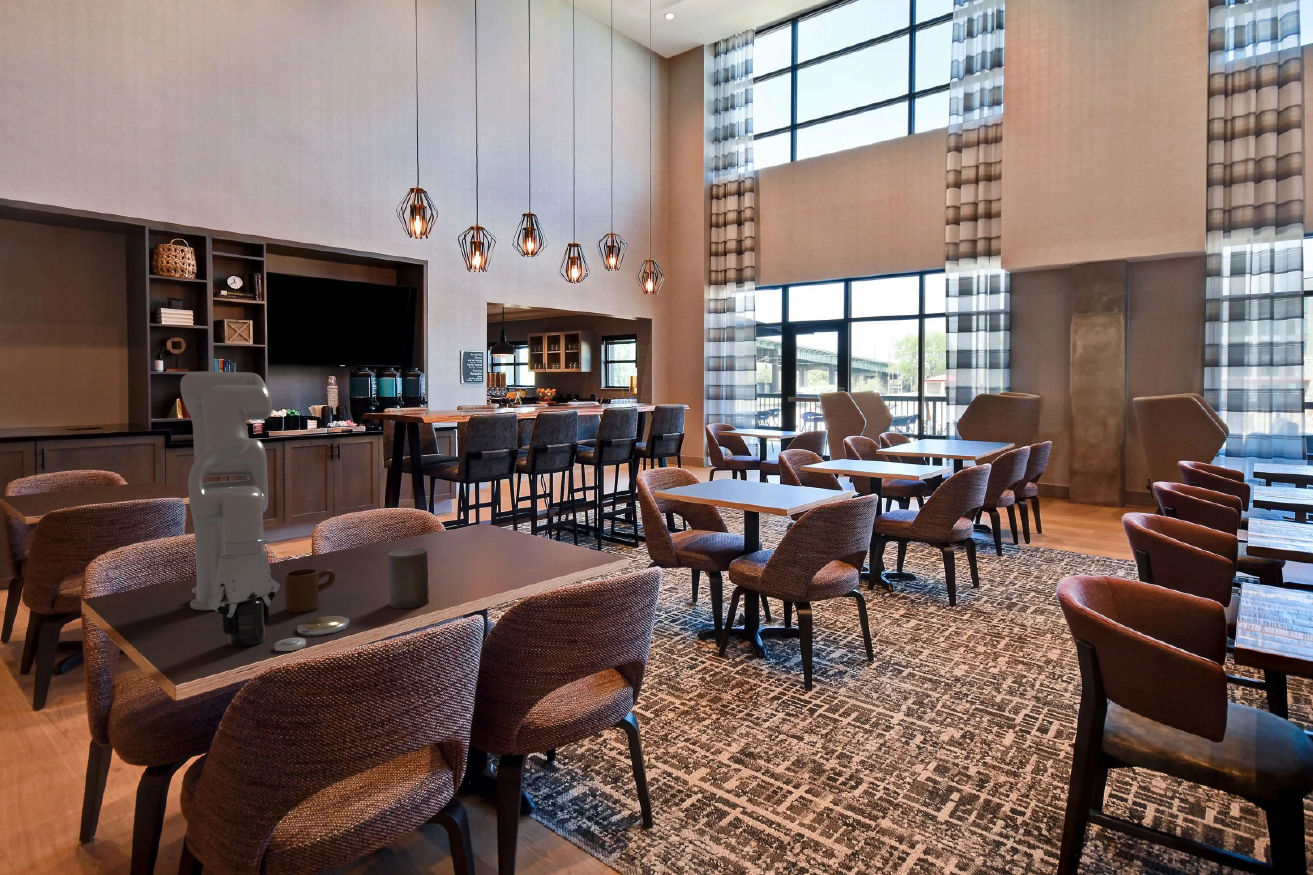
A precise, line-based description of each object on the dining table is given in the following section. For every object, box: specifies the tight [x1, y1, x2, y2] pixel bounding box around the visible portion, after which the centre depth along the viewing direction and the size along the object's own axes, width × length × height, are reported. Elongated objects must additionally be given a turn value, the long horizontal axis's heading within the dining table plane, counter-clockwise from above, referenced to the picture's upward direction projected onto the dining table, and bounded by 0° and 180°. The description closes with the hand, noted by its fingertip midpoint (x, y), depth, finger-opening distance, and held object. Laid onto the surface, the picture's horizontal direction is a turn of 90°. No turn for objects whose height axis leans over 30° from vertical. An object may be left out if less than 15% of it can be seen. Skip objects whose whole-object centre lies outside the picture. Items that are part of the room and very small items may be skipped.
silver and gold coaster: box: [296, 615, 350, 637], centre depth 166 cm, size 11×11×1 cm
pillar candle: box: [387, 546, 430, 609], centre depth 185 cm, size 10×10×15 cm
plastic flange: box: [274, 637, 307, 652], centre depth 153 cm, size 6×6×1 cm
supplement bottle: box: [228, 591, 266, 648], centre depth 156 cm, size 7×7×12 cm
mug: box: [284, 568, 336, 614], centre depth 181 cm, size 12×8×9 cm, turn 134°
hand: (246, 627), depth 156 cm, fingers closed on supplement bottle, 6 cm apart
